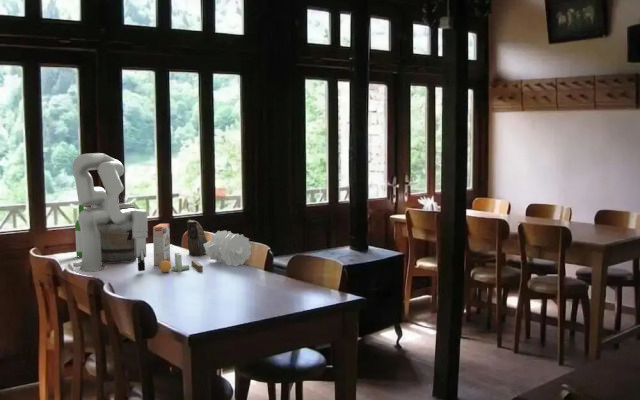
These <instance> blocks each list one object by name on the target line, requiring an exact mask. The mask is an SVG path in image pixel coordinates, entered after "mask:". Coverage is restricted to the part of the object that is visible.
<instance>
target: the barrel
mask: <svg viewBox="0 0 640 400" xmlns="http://www.w3.org/2000/svg"><path fill="white" fill-rule="evenodd" d="M118 205H119V207H120V209H121V210H123V209H130V208H131V209H136V205H135V204H118ZM91 208H94V207H93V206H92V207H91ZM97 228H98V230H99V232H100V236H101V256H102V264H116V263H117V264H118V263H129V262H134V261H137V258H136V257H135V255H134V238H132V223H130V224H125V225H116V224H115V223H114V222H113V221H112V220H111V218H110V220H109V222H108V223H106V224H104V225H99V226H97Z"/></svg>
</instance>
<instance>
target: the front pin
mask: <svg viewBox="0 0 640 400" xmlns="http://www.w3.org/2000/svg"><path fill="white" fill-rule="evenodd" d="M188 270H190V264H184V265H183V264H182V271H188ZM171 271H172V272H177V266H175V265H173V266H172V265H171Z"/></svg>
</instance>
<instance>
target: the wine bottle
mask: <svg viewBox="0 0 640 400" xmlns="http://www.w3.org/2000/svg"><path fill="white" fill-rule="evenodd" d="M83 210H85V206H82V205H81V204H80V203H79V204H78V215H79V214H80V213H81V212H82V211H83ZM74 229H75V231H74V232H75V233H74V234H75V249H76V250H75V251H76V257H77V256H79V257H82V242H81V230H80V225H79V221H78V219H76V221H75V223H74ZM79 257H78V258H79Z"/></svg>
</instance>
